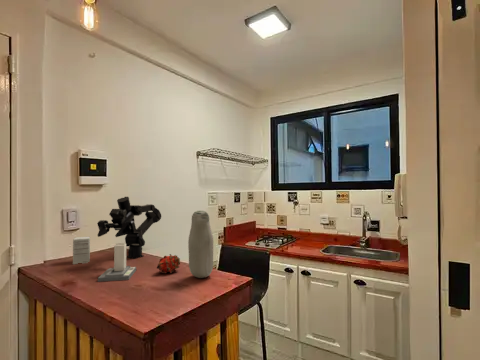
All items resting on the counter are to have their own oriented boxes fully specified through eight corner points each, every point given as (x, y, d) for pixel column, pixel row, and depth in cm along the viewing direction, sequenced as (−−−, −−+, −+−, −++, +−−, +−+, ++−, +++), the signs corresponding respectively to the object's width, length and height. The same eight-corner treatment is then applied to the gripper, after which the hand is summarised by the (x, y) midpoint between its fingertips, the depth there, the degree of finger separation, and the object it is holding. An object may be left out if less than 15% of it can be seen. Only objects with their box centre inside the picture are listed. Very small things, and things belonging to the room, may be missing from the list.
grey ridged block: (74, 261, 144) (74, 237, 144) (90, 259, 147) (90, 236, 148) (72, 264, 137) (72, 239, 138) (88, 262, 140) (89, 238, 141)
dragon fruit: (182, 272, 126) (159, 283, 118) (173, 260, 131) (150, 268, 122) (186, 260, 123) (163, 270, 114) (176, 247, 127) (153, 255, 118)
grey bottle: (217, 275, 117) (217, 210, 118) (202, 282, 108) (202, 211, 109) (199, 272, 122) (199, 209, 123) (183, 278, 113) (183, 211, 114)
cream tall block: (116, 268, 123) (117, 242, 123) (126, 268, 124) (126, 242, 124) (114, 271, 119) (114, 244, 120) (123, 270, 120) (124, 243, 120)
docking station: (108, 271, 124) (108, 266, 124) (136, 270, 126) (136, 265, 126) (97, 281, 110) (97, 275, 111) (128, 279, 112) (128, 274, 112)
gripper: (104, 205, 140) (84, 221, 126) (137, 205, 137) (121, 221, 123) (109, 224, 144) (90, 241, 130) (142, 224, 142) (126, 241, 127)
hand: (106, 236), depth 128 cm, fingers open, 9 cm apart
